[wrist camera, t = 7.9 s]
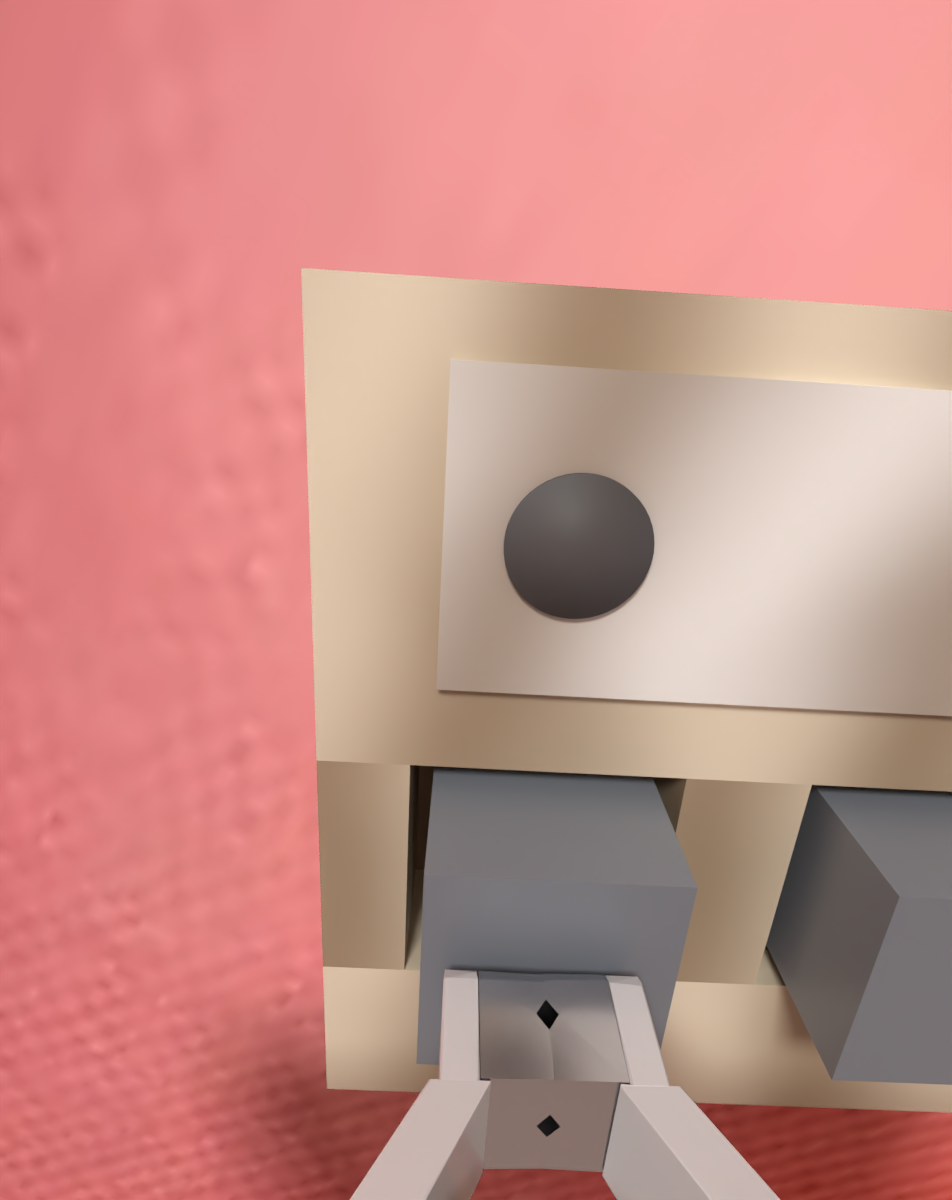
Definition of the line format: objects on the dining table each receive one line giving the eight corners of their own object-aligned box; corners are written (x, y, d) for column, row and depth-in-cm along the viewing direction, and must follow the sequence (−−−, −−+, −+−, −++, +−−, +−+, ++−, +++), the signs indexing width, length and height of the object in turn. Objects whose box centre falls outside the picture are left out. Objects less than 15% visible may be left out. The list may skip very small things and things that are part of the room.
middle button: (1012, 784, 13) (1164, 908, 10) (947, 941, 14) (1064, 1089, 11) (805, 774, 13) (900, 897, 10) (760, 933, 14) (831, 1079, 11)
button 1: (647, 766, 13) (697, 887, 10) (619, 927, 14) (655, 1073, 11) (435, 755, 12) (423, 875, 10) (428, 918, 14) (416, 1064, 11)
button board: (1528, 365, 12) (1950, 373, 9) (1162, 985, 18) (1330, 1142, 15) (348, 288, 12) (295, 265, 8) (354, 951, 18) (323, 1104, 14)
